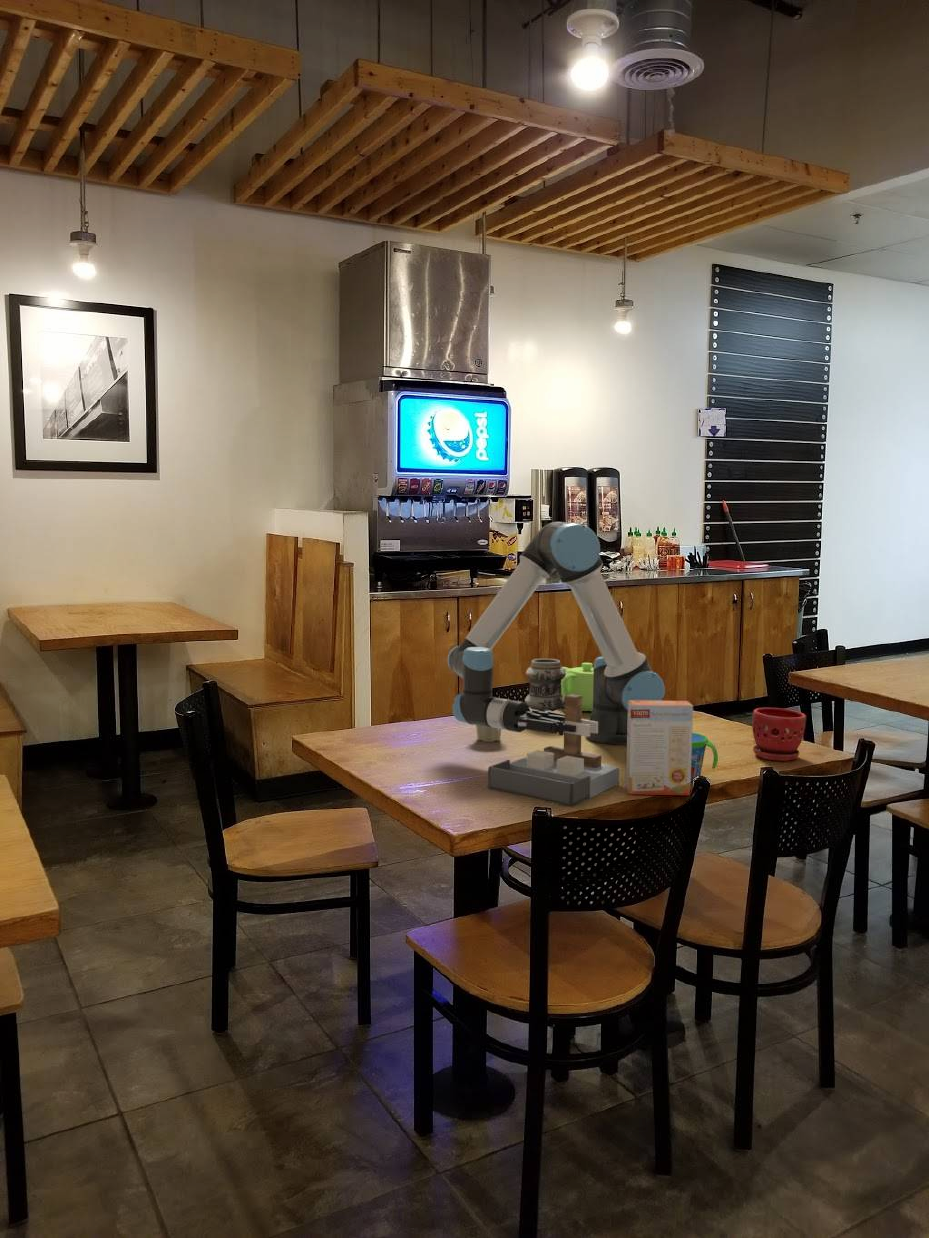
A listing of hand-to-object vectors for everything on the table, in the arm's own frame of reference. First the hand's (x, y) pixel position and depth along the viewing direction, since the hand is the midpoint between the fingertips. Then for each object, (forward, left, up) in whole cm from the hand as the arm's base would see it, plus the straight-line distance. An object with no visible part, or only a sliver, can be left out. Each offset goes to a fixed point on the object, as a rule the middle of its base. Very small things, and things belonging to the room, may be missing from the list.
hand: (593, 729), depth 234 cm
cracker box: (-3, +15, -13) cm, 20 cm away
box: (+15, -5, -13) cm, 20 cm away
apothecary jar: (-50, -43, -13) cm, 68 cm away
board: (+4, -5, -13) cm, 14 cm away
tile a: (+8, -9, -9) cm, 15 cm away
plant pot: (-51, +27, -13) cm, 59 cm away
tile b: (+8, -1, -9) cm, 12 cm away
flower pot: (-19, -42, -13) cm, 48 cm away
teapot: (-74, -41, -13) cm, 86 cm away
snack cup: (-17, +16, -13) cm, 26 cm away
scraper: (0, -5, -9) cm, 10 cm away
